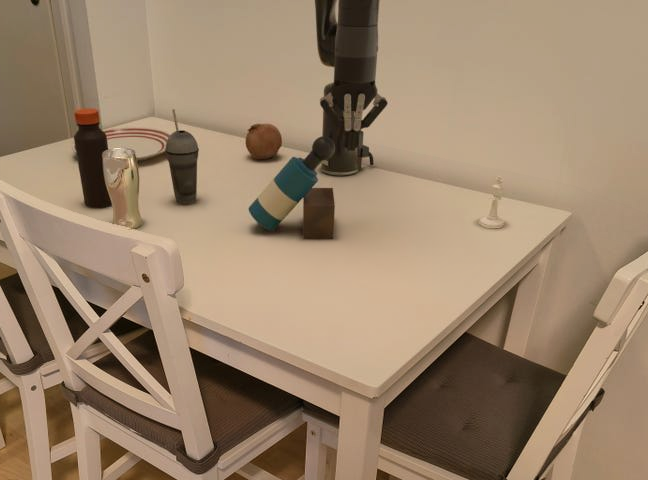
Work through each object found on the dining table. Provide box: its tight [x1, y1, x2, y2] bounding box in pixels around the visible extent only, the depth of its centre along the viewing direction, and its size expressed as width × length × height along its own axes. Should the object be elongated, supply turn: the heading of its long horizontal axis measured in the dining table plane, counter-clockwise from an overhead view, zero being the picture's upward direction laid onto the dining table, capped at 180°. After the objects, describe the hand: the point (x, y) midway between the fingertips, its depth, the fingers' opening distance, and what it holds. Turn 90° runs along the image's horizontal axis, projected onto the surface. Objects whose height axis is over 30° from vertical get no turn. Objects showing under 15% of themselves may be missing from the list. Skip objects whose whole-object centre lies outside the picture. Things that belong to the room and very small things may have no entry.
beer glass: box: [102, 148, 143, 230], centre depth 139 cm, size 7×7×15 cm
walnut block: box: [302, 187, 336, 240], centre depth 139 cm, size 6×10×7 cm, turn 178°
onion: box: [245, 123, 283, 160], centre depth 179 cm, size 10×9×10 cm
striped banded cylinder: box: [248, 135, 335, 232], centre depth 136 cm, size 17×7×19 cm, turn 88°
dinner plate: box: [71, 126, 172, 163], centre depth 184 cm, size 27×27×3 cm
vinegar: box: [73, 107, 112, 209], centre depth 148 cm, size 7×7×20 cm
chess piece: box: [478, 175, 505, 229], centre depth 139 cm, size 5×5×10 cm
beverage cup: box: [164, 108, 200, 206], centre depth 149 cm, size 7×7×20 cm
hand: (350, 149), depth 131 cm, fingers closed
